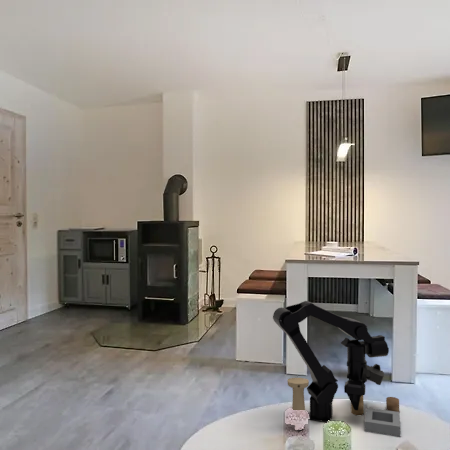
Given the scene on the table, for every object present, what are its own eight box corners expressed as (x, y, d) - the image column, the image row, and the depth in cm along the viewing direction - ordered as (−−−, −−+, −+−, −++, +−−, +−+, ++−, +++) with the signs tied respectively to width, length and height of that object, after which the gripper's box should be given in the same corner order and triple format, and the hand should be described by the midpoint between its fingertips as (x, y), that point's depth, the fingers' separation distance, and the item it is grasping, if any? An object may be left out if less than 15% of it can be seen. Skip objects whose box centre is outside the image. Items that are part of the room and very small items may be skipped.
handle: (310, 433, 128) (309, 383, 128) (289, 432, 129) (288, 383, 129) (308, 425, 133) (307, 377, 133) (288, 425, 134) (287, 377, 133)
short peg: (386, 412, 140) (386, 400, 140) (386, 407, 144) (386, 396, 144) (399, 414, 139) (399, 402, 139) (399, 409, 143) (399, 397, 143)
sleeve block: (364, 431, 129) (364, 421, 129) (366, 416, 138) (366, 407, 138) (400, 436, 125) (400, 426, 125) (399, 421, 134) (399, 412, 134)
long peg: (350, 414, 140) (350, 390, 140) (351, 409, 144) (351, 385, 143) (363, 416, 138) (362, 392, 138) (364, 411, 142) (363, 387, 142)
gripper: (381, 370, 129) (382, 421, 129) (382, 352, 146) (383, 397, 147) (343, 366, 133) (344, 416, 133) (349, 349, 151) (350, 393, 151)
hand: (357, 405), depth 141 cm, fingers open, 7 cm apart
